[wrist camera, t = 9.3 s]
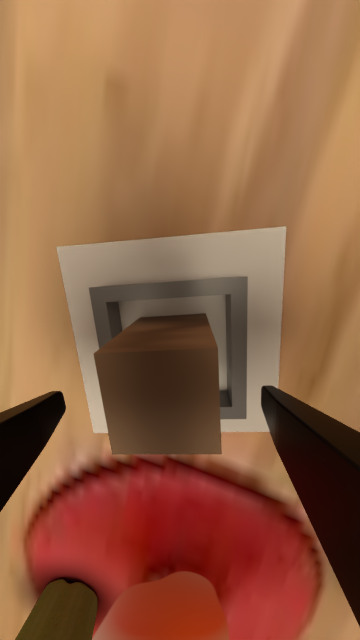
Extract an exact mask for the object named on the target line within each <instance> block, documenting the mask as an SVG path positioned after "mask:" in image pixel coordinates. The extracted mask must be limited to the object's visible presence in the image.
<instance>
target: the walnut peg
mask: <svg viewBox="0 0 360 640" xmlns="http://www.w3.org/2000/svg"><path fill="white" fill-rule="evenodd" d="M93 355H94V360H95V365H96V370H97V376H98V381H99V386H100V392H101V397H102V402H103V408H104V413H105V418H106V423H107V429H108V434H109V439H110V445H111V450H112V454H222V452H221V423H220V393H219V364H218V347H217V344H216V341H215V338H214V335H213V332H212V329H211V327H210V324H209V321H208V318H207V315H206V313H201V314H185V315H169V316H153V317H140V318H138V319H137V320H136V321H135V322H133V323H132V324H131V325H129V326H128V327H127V328H126V329H124V330H123V331H122V332H121V333H119V334H118V335H117V336H115V337H114V338H113V339H112V340H110V341H109V342H108V343H106V344H105V345H104V346H103V347H101V348H100V349H99V350H97V351H96V352H95V353H94V354H93Z"/></svg>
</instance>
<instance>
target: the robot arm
mask: <svg viewBox="0 0 360 640" xmlns="http://www.w3.org/2000/svg"><path fill="white" fill-rule="evenodd" d="M261 407H262V411H263V414H264V416H265V419H266V422H267V425H268V428H269V431H270V434H271V437H272V439H273V442H274V445H275V447H276V449H277V452H278V454H279V456H280V458H281V460H282V462H283V464H284V466H285V469H286V471H287V473H288V475H289V477H290V479H291V481H292V483H293V486H294V488H295V490H296V492H297V494H298V496H299V498H300V501H301V503H302V505H303V507H304V509H305V511H306V513H307V515H308V518H309V520H310V522H311V524H312V526H313V528H314V530H315V532H316V535H317V537H318V539H319V541H320V543H321V545H322V547H323V550H324V552H325V554H326V556H327V558H328V560H329V562H330V564H331V567H332V569H333V571H334V573H335V575H336V577H337V579H338V581H339V584H340V586H341V588H342V590H343V592H344V594H345V596H346V599H347V601H348V603H349V605H350V607H351V609H352V611H353V613H354V616H355V618H356V620H357V622H358V624H359V626H360V432H358V431H356V430H354V429H352V428H350V427H348V426H347V425H345V424H343V423H341V422H339V421H337V420H335V419H334V418H332V417H330V416H328V415H326V414H324V413H322V412H321V411H319V410H317V409H315V408H313V407H311V406H309V405H308V404H306V403H304V402H302V401H300V400H298V399H296V398H294V397H293V396H291V395H289V394H287V393H285V392H283V391H281V390H280V389H278V388H276V387H274V386H271V385H267V386H262V388H261ZM65 410H66V405H65V401H64V397H63V393H62V392H61V391H51V392H49V393H46V394H44V395H42V396H39V397H37V398H34V399H32V400H30V401H27V402H25V403H22V404H20V405H18V406H15V407H13V408H10V409H8V410H6V411H3V412H1V413H0V512H1V510H2V509H3V507H4V506H5V504H6V503H7V501H8V500H9V499H10V497H11V496H12V494H13V493H14V491H15V490H16V488H17V487H18V485H19V484H20V482H21V481H22V480H23V478H24V477H25V475H26V474H27V472H28V471H29V469H30V468H31V466H32V465H33V463H34V462H35V460H36V459H37V458H38V456H39V455H40V453H41V452H42V450H43V449H44V447H45V446H46V444H47V442H48V441H49V439H50V437H51V435H52V434H53V432H54V430H55V428H56V427H57V425H58V423H59V421H60V420H61V418H62V416H63V414H64V413H65Z"/></svg>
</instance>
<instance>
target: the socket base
mask: <svg viewBox="0 0 360 640" xmlns="http://www.w3.org/2000/svg"><path fill="white" fill-rule="evenodd" d="M285 242H286V226H284V227H273V228H262V229H251V230H240V231H228V232H217V233H206V234H195V235H184V236H172V237H161V238H150V239H139V240H127V241H116V242H105V243H94V244H83V245H71V246H60V247H56V248H57V253H58V258H59V263H60V268H61V273H62V278H63V283H64V288H65V292H66V297H67V302H68V307H69V312H70V317H71V322H72V327H73V332H74V337H75V342H76V347H77V352H78V357H79V362H80V367H81V372H82V377H83V382H84V387H85V392H86V397H87V401H88V406H89V411H90V416H91V421H92V426H93V431H94V433H108V429H107V423H106V418H105V413H104V408H103V402H102V397H101V392H100V386H99V381H98V376H97V370H96V365H95V360H94V355H93V354H94V353H95V352H96V351H97V350H99V349H100V348H101V347H103V346H104V345H105V344H106V343H108V342H109V341H110V340H112V339H113V338H114V337H115V336H117V335H118V334H119V333H121V332H122V331H123V330H124V329H126V328H127V327H128V326H129V325H131V324H132V323H133V322H135V321H136V320H137V319H138V318H140V317H153V316H169V315H185V314H201V313H206V315H207V318H208V321H209V324H210V327H211V329H212V332H213V335H214V338H215V341H216V344H217V347H218V364H219V393H220V423H221V432H270V431H269V428H268V425H267V422H266V419H265V416H264V414H263V411H262V407H261V388H262V386H267V385H271V386H274V387H276V388H278V384H279V363H280V343H281V323H282V303H283V282H284V262H285Z"/></svg>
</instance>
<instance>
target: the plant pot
mask: <svg viewBox="0 0 360 640" xmlns="http://www.w3.org/2000/svg"><path fill="white" fill-rule="evenodd" d="M97 609H98V599H97V596H96V595H95V593H94V592H93V590H91V589H89V588H88V587H87V585H85V584H83V583H81V582H79V583H78V582H75V583H73V584H68V583H67V582H66V581H65V580H63V579H59V580H56V581H53V582H51V583H49V584H48V585H47V586H46V587H45V589H44V590H43V592H42V594H41V596H40V597H39V599H38V601H37V603H36V604H35V606H34V608H33V609H32V611H31V613H30V615H29V616H28V618H27V620H26V622H25V623H24V625H23V627H22V629H21V630H20V632H19V634H18V636H17V637H16V639H15V640H92V635H93V630H94V625H95V620H96V614H97Z"/></svg>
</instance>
